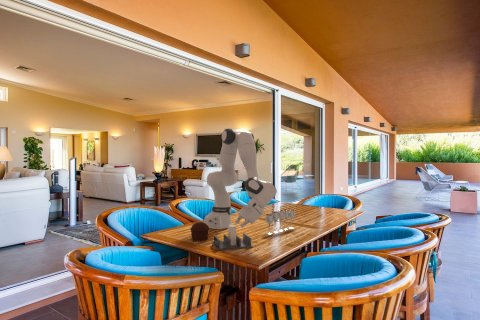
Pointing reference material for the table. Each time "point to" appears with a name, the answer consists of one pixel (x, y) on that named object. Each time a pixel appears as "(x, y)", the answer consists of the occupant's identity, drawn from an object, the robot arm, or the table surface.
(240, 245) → the dish rack
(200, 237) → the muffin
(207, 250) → the table surface
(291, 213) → the goblet set
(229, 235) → the tall cream block
